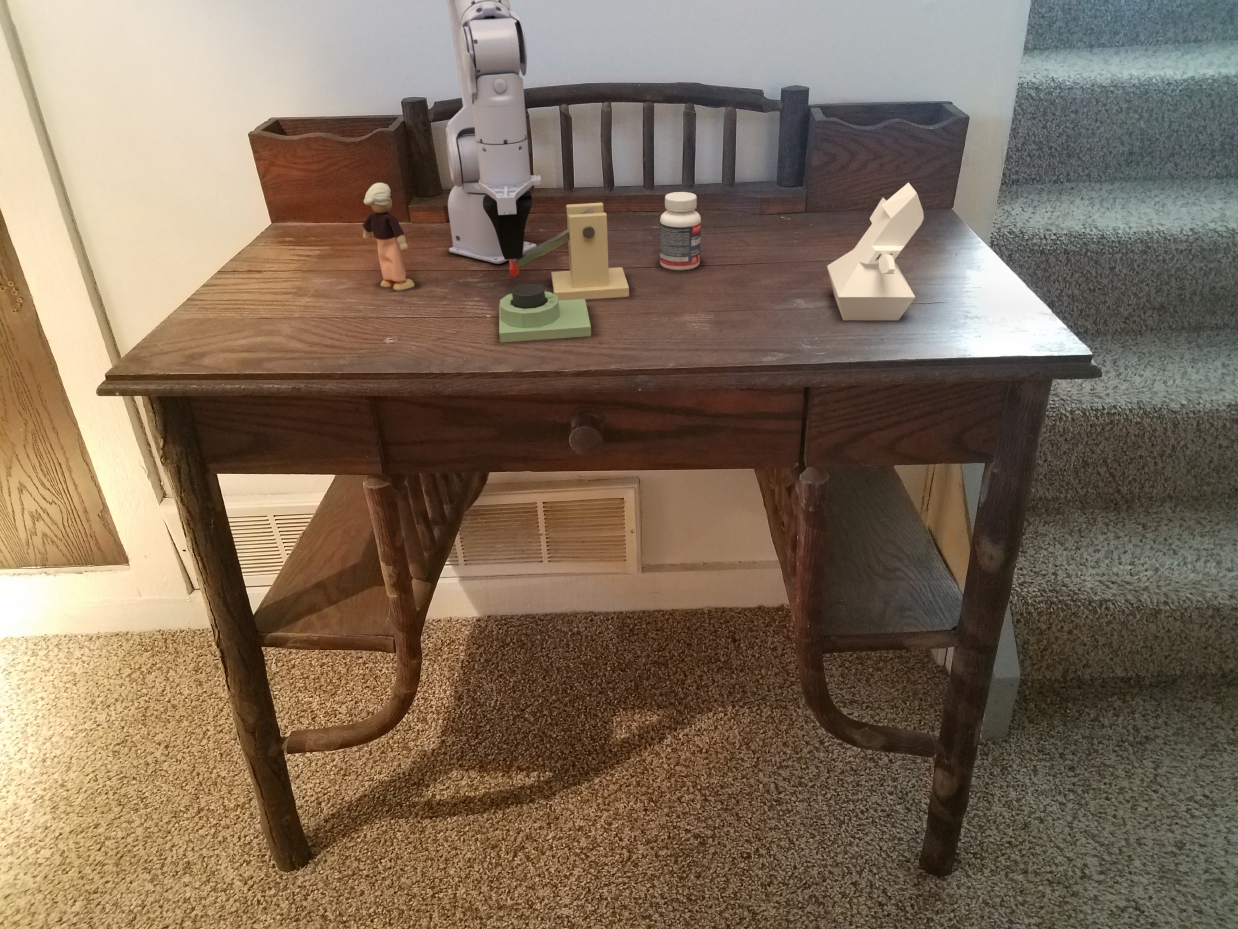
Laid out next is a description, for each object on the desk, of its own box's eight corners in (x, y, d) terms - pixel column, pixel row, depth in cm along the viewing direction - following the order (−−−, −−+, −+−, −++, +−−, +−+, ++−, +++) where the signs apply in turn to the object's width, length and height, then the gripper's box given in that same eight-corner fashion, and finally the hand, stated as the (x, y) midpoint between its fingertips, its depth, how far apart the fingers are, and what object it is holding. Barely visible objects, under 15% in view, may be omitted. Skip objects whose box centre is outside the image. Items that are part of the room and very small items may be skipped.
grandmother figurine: (428, 283, 110) (412, 181, 103) (410, 293, 107) (393, 190, 100) (379, 275, 113) (361, 176, 106) (360, 285, 110) (340, 184, 103)
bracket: (554, 301, 104) (549, 221, 99) (551, 280, 110) (546, 203, 105) (629, 296, 105) (627, 216, 100) (622, 276, 111) (620, 198, 105)
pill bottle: (697, 272, 111) (698, 203, 106) (656, 270, 112) (656, 201, 107) (702, 258, 115) (704, 190, 111) (663, 256, 116) (663, 189, 111)
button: (513, 311, 95) (512, 296, 94) (513, 299, 98) (511, 284, 97) (546, 309, 96) (545, 294, 95) (544, 296, 99) (543, 282, 98)
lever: (515, 282, 103) (505, 266, 102) (514, 268, 108) (504, 251, 106) (603, 234, 101) (594, 216, 100) (599, 221, 106) (590, 204, 104)
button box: (500, 343, 95) (497, 317, 93) (500, 313, 102) (497, 289, 100) (591, 336, 96) (590, 311, 94) (585, 308, 102) (584, 283, 101)
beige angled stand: (838, 334, 95) (853, 208, 87) (821, 285, 106) (834, 171, 99) (917, 334, 94) (939, 207, 86) (892, 285, 106) (909, 170, 98)
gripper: (540, 152, 91) (549, 276, 98) (535, 123, 103) (543, 235, 111) (472, 156, 90) (486, 280, 98) (475, 126, 103) (488, 239, 110)
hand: (513, 257), depth 104 cm, fingers closed, pressing on lever
